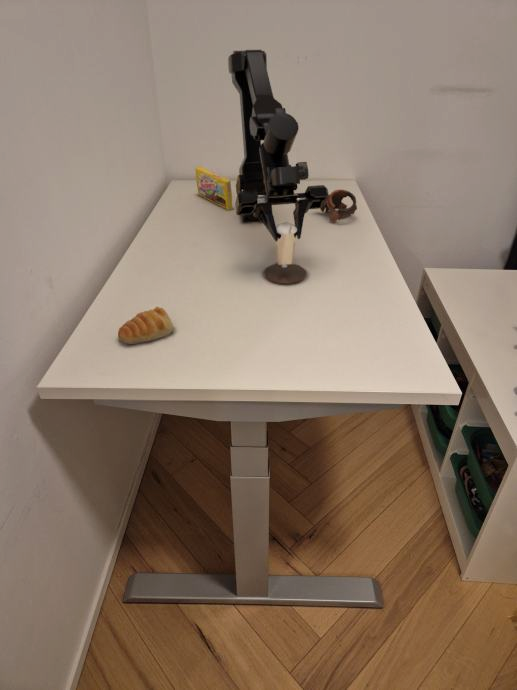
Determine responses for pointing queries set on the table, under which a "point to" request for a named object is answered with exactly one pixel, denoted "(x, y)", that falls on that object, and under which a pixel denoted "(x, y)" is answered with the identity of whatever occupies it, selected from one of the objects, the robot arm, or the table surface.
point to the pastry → (146, 327)
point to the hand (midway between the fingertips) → (287, 239)
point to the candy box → (214, 187)
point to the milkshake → (285, 244)
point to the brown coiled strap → (339, 205)
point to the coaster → (285, 274)
